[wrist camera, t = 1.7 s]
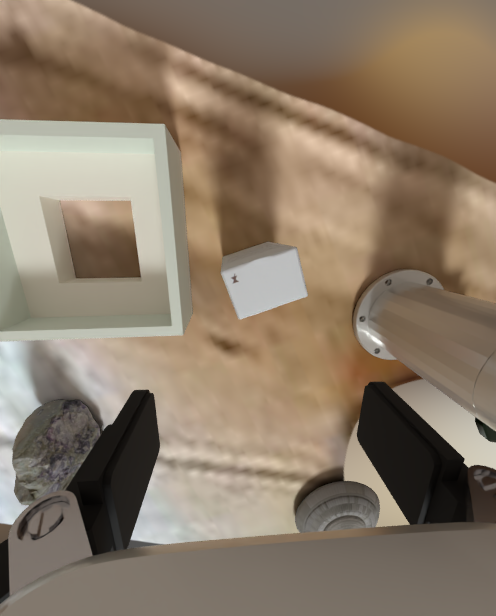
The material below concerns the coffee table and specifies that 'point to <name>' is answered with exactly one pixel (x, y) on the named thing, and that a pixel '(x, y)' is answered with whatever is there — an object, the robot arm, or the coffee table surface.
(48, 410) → the mineral rock
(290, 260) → the skincare box
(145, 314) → the peg box
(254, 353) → the coffee table surface
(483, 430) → the dark piece
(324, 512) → the flying saucer
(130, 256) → the coffee table surface
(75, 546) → the robot arm
